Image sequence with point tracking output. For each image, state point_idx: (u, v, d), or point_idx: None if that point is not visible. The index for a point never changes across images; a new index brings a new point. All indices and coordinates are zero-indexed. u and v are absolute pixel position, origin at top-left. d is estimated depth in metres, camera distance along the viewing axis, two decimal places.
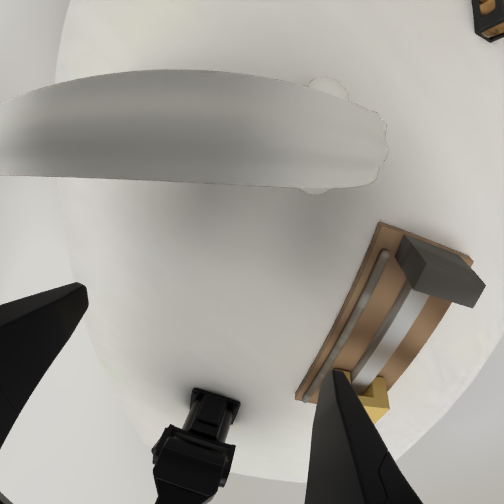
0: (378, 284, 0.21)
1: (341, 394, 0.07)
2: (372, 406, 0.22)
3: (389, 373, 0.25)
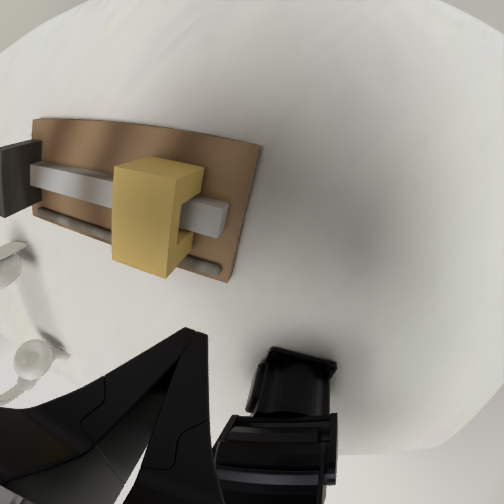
0: (58, 208, 0.21)
1: (188, 353, 0.07)
2: None
3: (147, 149, 0.18)
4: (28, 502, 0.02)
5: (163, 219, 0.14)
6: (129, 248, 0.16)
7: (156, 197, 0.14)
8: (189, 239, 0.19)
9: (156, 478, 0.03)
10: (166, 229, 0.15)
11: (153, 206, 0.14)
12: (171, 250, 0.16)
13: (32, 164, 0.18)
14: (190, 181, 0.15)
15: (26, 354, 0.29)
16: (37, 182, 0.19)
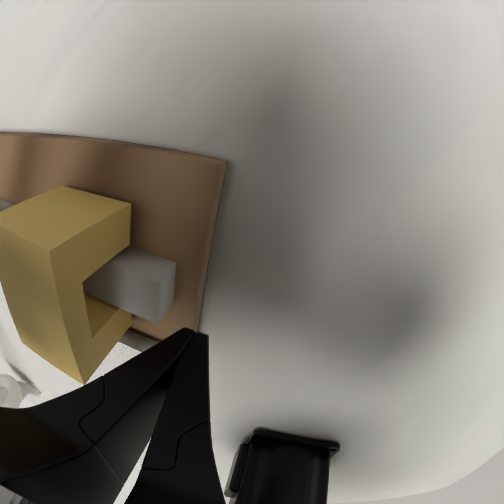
0: None
1: (189, 353, 0.07)
2: None
3: (59, 173, 0.10)
4: (27, 502, 0.02)
5: (53, 311, 0.07)
6: (32, 336, 0.08)
7: (35, 276, 0.06)
8: (122, 314, 0.11)
9: (157, 478, 0.03)
10: (61, 327, 0.07)
11: (36, 289, 0.07)
12: (83, 349, 0.08)
13: None
14: (95, 238, 0.08)
15: None
16: None
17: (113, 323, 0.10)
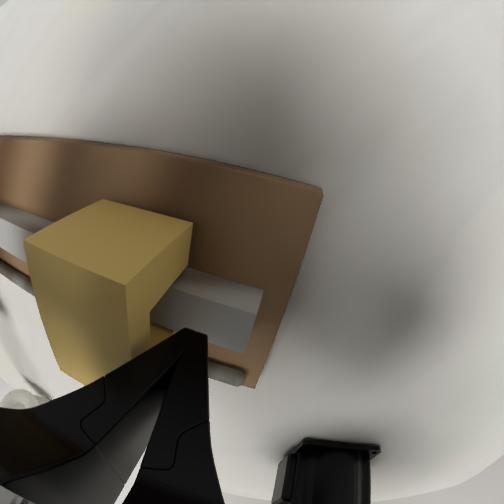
0: (13, 261, 0.14)
1: (188, 353, 0.07)
2: None
3: (115, 189, 0.10)
4: (28, 502, 0.02)
5: (117, 346, 0.07)
6: (78, 366, 0.08)
7: (96, 309, 0.06)
8: None
9: (156, 478, 0.03)
10: (126, 361, 0.07)
11: (95, 323, 0.07)
12: None
13: None
14: (163, 264, 0.08)
15: (11, 406, 0.21)
16: None
17: None
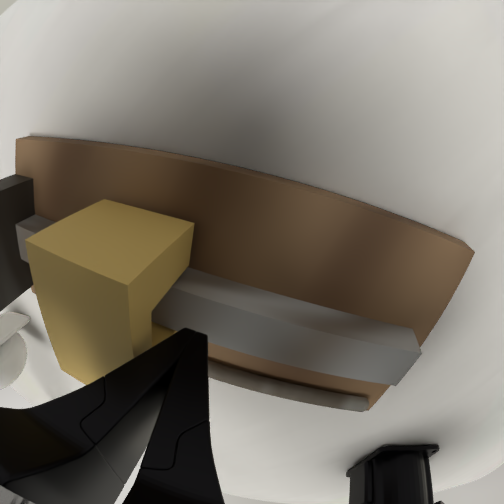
0: None
1: (188, 353, 0.07)
2: None
3: (280, 232, 0.09)
4: (28, 502, 0.02)
5: (119, 346, 0.07)
6: (79, 366, 0.08)
7: (98, 309, 0.06)
8: None
9: (156, 478, 0.03)
10: None
11: (97, 322, 0.07)
12: None
13: (19, 224, 0.10)
14: (165, 264, 0.08)
15: None
16: None
17: None
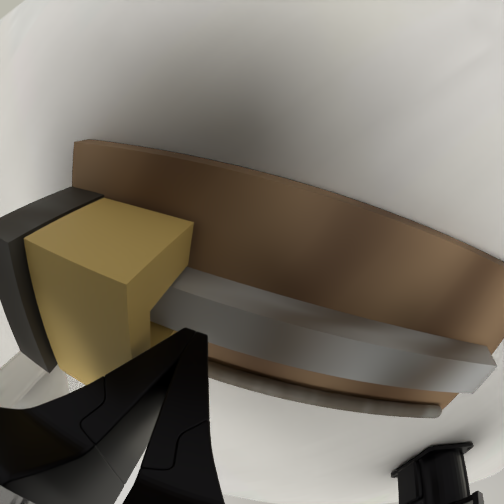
0: None
1: (188, 353, 0.07)
2: None
3: (417, 274, 0.09)
4: (28, 502, 0.02)
5: (117, 346, 0.07)
6: (77, 365, 0.08)
7: (97, 309, 0.06)
8: None
9: (156, 478, 0.03)
10: (126, 361, 0.07)
11: (95, 322, 0.07)
12: None
13: None
14: (164, 263, 0.08)
15: None
16: None
17: None
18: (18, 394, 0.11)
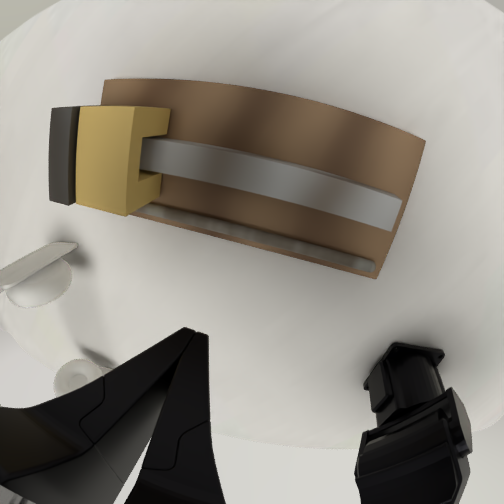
0: None
1: (189, 353, 0.07)
2: (79, 139, 0.13)
3: (304, 125, 0.15)
4: (27, 501, 0.02)
5: (122, 149, 0.13)
6: (91, 187, 0.14)
7: (116, 128, 0.12)
8: (155, 182, 0.17)
9: (157, 478, 0.03)
10: (125, 160, 0.13)
11: (113, 138, 0.13)
12: (131, 185, 0.14)
13: None
14: (152, 116, 0.14)
15: (69, 378, 0.26)
16: None
17: (150, 183, 0.16)
18: (30, 271, 0.17)
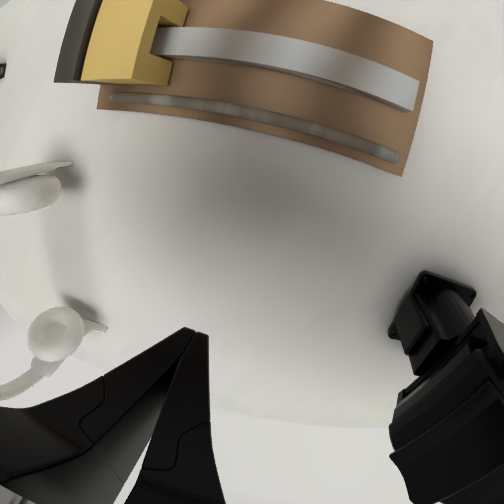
0: (150, 88, 0.16)
1: (189, 353, 0.07)
2: (97, 21, 0.10)
3: (317, 18, 0.12)
4: (27, 501, 0.02)
5: (140, 18, 0.10)
6: (100, 59, 0.11)
7: (137, 3, 0.09)
8: (165, 67, 0.14)
9: (157, 478, 0.03)
10: (141, 26, 0.10)
11: (133, 11, 0.10)
12: (143, 52, 0.11)
13: None
14: (172, 3, 0.11)
15: (46, 327, 0.23)
16: None
17: (160, 64, 0.13)
18: (16, 173, 0.14)
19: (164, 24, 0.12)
